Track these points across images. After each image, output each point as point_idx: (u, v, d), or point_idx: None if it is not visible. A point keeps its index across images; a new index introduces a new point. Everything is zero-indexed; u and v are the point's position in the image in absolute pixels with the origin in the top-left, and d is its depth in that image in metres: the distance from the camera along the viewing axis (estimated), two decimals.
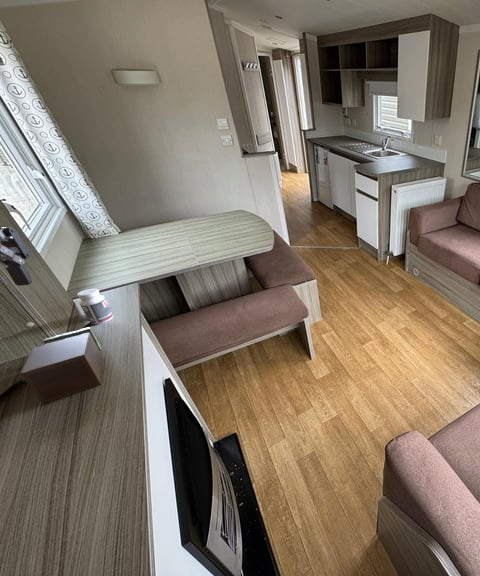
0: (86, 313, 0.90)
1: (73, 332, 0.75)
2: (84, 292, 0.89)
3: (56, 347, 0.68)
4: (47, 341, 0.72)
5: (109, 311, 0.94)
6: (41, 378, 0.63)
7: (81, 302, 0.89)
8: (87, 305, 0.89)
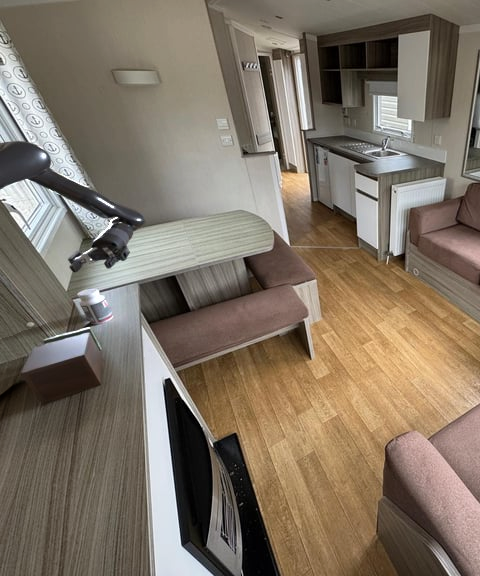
0: (86, 313, 0.90)
1: (73, 332, 0.75)
2: (84, 292, 0.89)
3: (56, 347, 0.68)
4: (47, 341, 0.72)
5: (109, 311, 0.94)
6: (41, 378, 0.63)
7: (81, 302, 0.89)
8: (87, 305, 0.89)
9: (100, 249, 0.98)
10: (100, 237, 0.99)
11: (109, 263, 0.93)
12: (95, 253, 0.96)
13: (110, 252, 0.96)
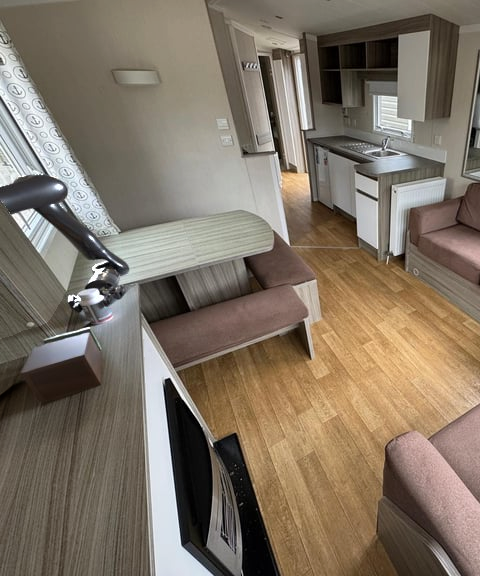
0: (86, 313, 0.90)
1: (73, 332, 0.75)
2: (84, 292, 0.89)
3: (56, 347, 0.68)
4: (47, 341, 0.72)
5: (109, 311, 0.94)
6: (41, 378, 0.63)
7: (81, 302, 0.89)
8: (87, 305, 0.89)
9: None
10: (94, 279, 0.98)
11: (108, 301, 0.92)
12: None
13: (106, 292, 0.95)
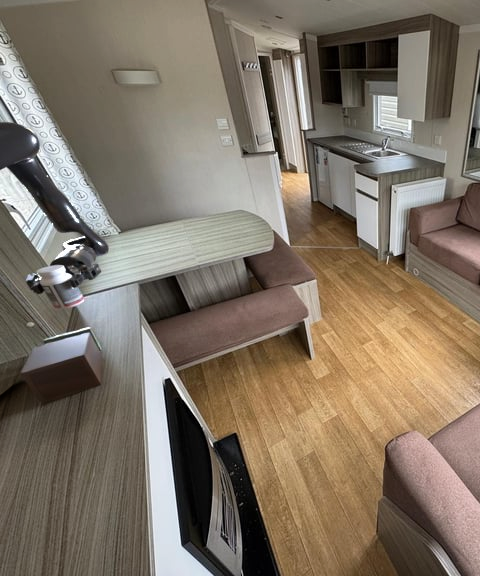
0: (49, 295, 0.73)
1: (73, 332, 0.75)
2: (45, 269, 0.72)
3: (56, 347, 0.68)
4: (47, 341, 0.72)
5: (78, 293, 0.77)
6: (41, 378, 0.63)
7: (42, 281, 0.72)
8: (50, 285, 0.72)
9: None
10: (62, 256, 0.81)
11: (76, 280, 0.75)
12: None
13: (75, 270, 0.78)
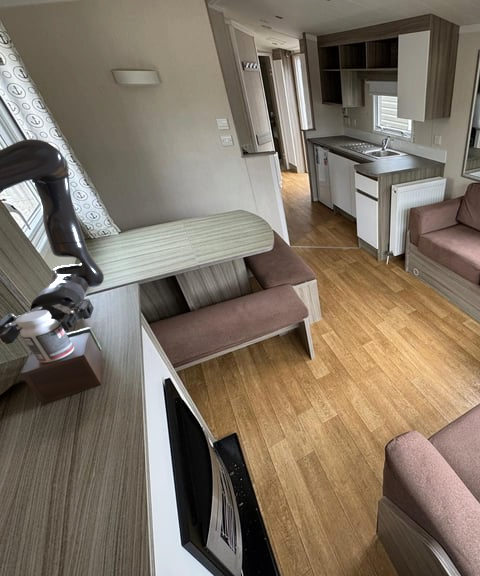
0: (31, 347, 0.61)
1: (73, 332, 0.75)
2: (27, 317, 0.60)
3: None
4: None
5: (67, 342, 0.65)
6: (41, 378, 0.63)
7: (22, 332, 0.60)
8: (32, 336, 0.60)
9: (47, 308, 0.68)
10: (46, 292, 0.69)
11: (68, 322, 0.63)
12: None
13: (66, 309, 0.66)
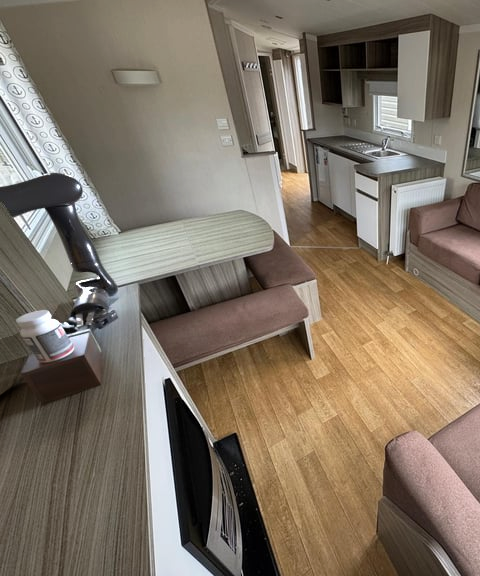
0: (31, 347, 0.61)
1: (72, 334, 0.74)
2: (27, 317, 0.60)
3: None
4: None
5: (67, 342, 0.65)
6: (41, 378, 0.63)
7: (22, 332, 0.60)
8: (32, 336, 0.60)
9: (85, 315, 0.83)
10: (82, 302, 0.84)
11: None
12: None
13: (90, 319, 0.80)
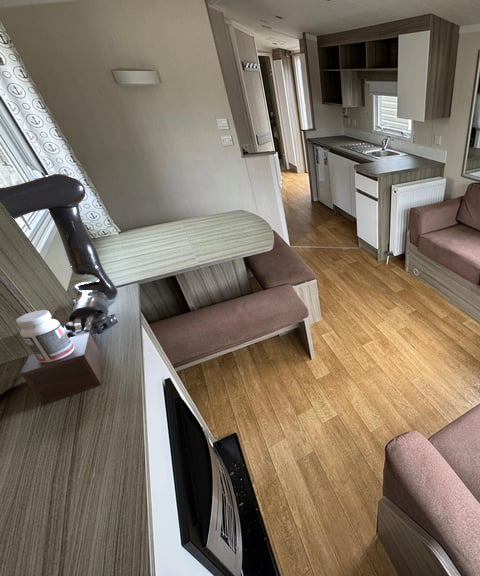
0: (31, 347, 0.61)
1: None
2: (27, 317, 0.60)
3: None
4: None
5: (67, 342, 0.65)
6: (41, 378, 0.63)
7: (22, 332, 0.60)
8: (32, 336, 0.60)
9: (84, 319, 0.81)
10: (81, 306, 0.82)
11: None
12: None
13: (89, 324, 0.78)
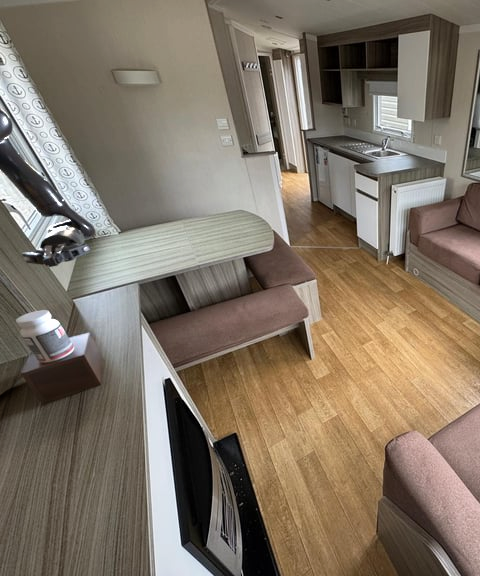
0: (31, 347, 0.61)
1: None
2: (27, 317, 0.60)
3: None
4: None
5: (67, 342, 0.65)
6: (41, 378, 0.63)
7: (22, 332, 0.60)
8: (32, 336, 0.60)
9: (55, 247, 0.80)
10: (53, 234, 0.81)
11: (56, 259, 0.73)
12: None
13: (59, 249, 0.77)
